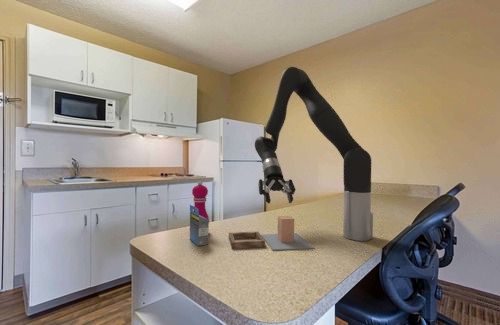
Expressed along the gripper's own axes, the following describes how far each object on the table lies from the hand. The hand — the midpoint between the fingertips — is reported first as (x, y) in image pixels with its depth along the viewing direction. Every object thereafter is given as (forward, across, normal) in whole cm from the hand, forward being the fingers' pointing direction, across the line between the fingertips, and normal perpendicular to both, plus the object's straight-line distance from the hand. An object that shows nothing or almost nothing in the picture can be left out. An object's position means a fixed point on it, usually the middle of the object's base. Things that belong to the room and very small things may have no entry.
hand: (280, 202), depth 93 cm
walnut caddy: (+13, -14, +5) cm, 20 cm away
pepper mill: (+3, -30, +15) cm, 34 cm away
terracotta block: (+14, 0, +4) cm, 14 cm away
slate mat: (+14, 0, +4) cm, 14 cm away
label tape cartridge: (+11, -30, +7) cm, 33 cm away
